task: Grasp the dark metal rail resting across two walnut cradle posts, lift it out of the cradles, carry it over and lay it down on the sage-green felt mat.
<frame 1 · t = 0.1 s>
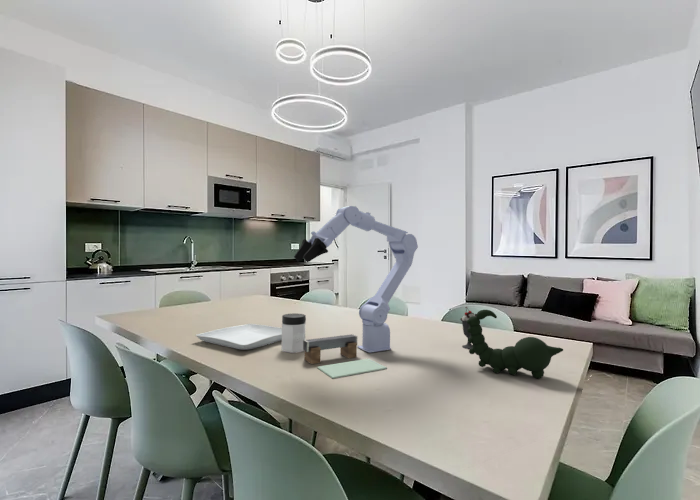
hand: (300, 259, 116), 32 cm above the table, tool tilted 50°, fingers open, 7 cm apart
rail: (330, 347, 118), point 3 cm above the table, touching post 1, post 2
square plate: (247, 342, 140), on the table
jar: (293, 350, 128), on the table
post 2: (348, 355, 122), on the table
toy figurine: (512, 374, 106), on the table
sundae: (469, 347, 134), on the table
post 1: (312, 361, 115), on the table
mat: (352, 368, 109), on the table
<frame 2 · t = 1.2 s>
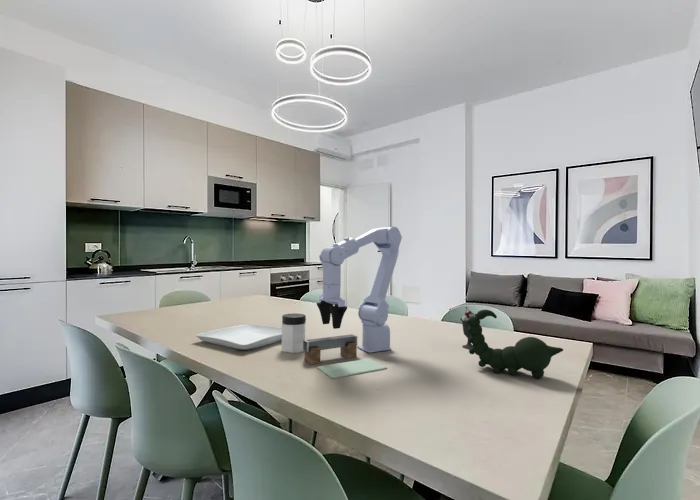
hand: (331, 326, 118), 10 cm above the table, tool pointing down, fingers open, 7 cm apart
nothing on the table moved.
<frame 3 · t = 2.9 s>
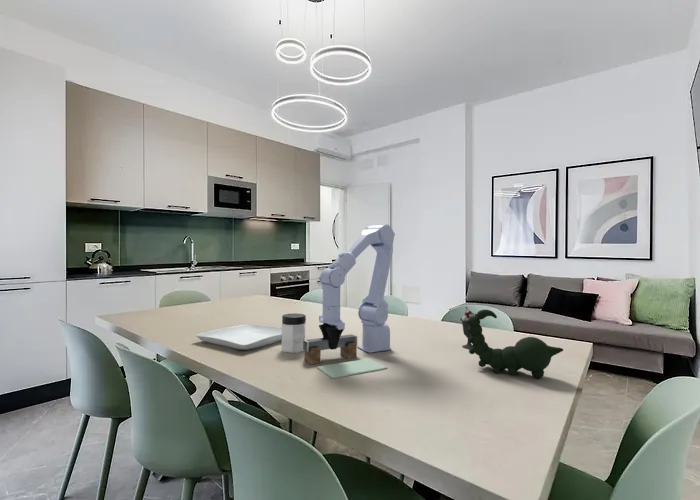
hand: (330, 347, 118), 3 cm above the table, tool pointing down, fingers closed on rail, 3 cm apart
rail: (330, 347, 118), point 3 cm above the table, touching gripper, post 1, post 2
everything else where it was.
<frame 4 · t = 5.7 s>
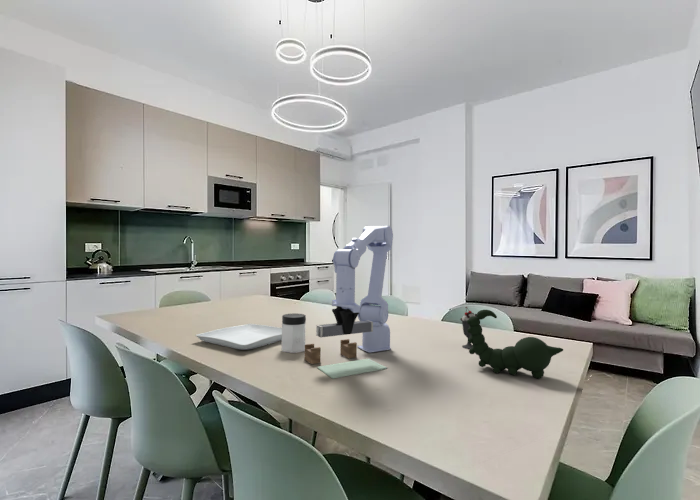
hand: (344, 332, 112), 10 cm above the table, tool pointing down, fingers closed on rail, 3 cm apart
rail: (345, 333, 112), point 10 cm above the table, touching gripper
everything else where it was.
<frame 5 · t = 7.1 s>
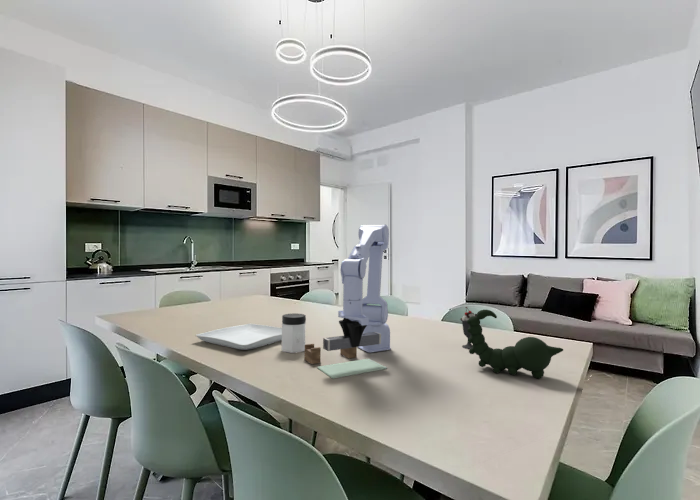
hand: (352, 345, 109), 7 cm above the table, tool pointing down, fingers closed on rail, 3 cm apart
rail: (352, 346, 109), point 7 cm above the table, touching gripper
everything else where it was.
when the fingers open (2 cm above the table, at t = 8.5 s): rail drops 1 cm, resting on mat.
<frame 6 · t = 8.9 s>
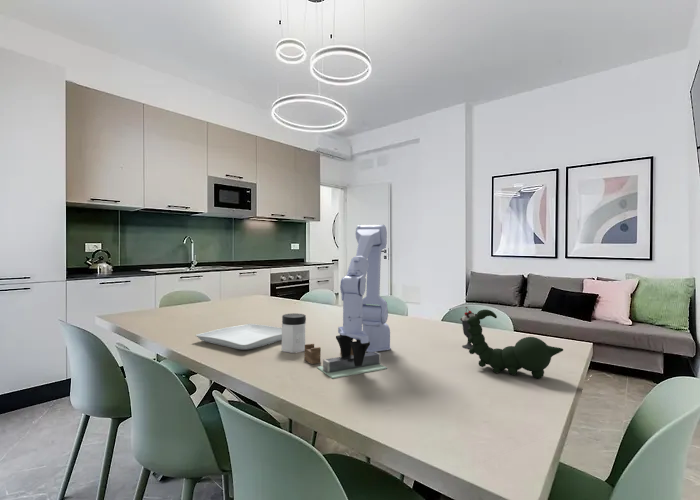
hand: (352, 362, 109), 2 cm above the table, tool pointing down, fingers open, 7 cm apart
rail: (352, 366, 109), resting on mat
everything else where it was.
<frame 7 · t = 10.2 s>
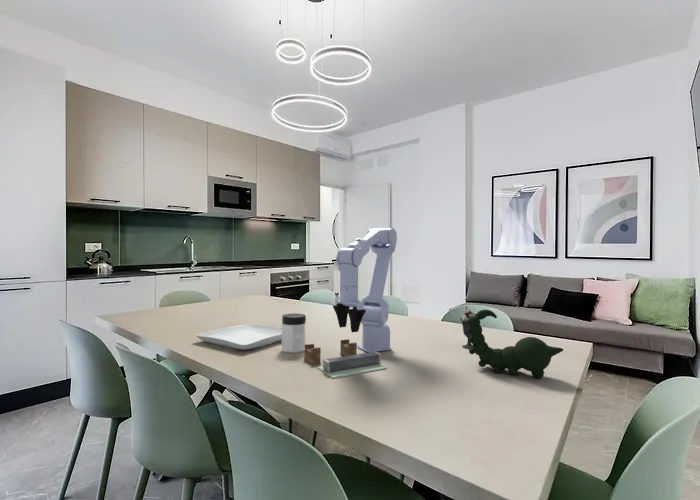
hand: (348, 329, 115), 10 cm above the table, tool pointing down, fingers open, 7 cm apart
nothing on the table moved.
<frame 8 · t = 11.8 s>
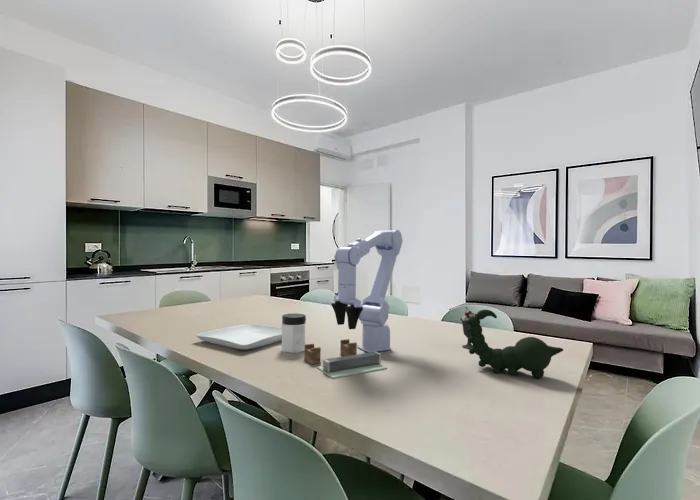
hand: (346, 326, 118), 10 cm above the table, tool pointing down, fingers open, 7 cm apart
nothing on the table moved.
at the end: rail inside the target area on the mat (0.2 cm from its centre), point 0.4 cm above the mat's base; the gripper is holding nothing; rail moved 12.5 cm from its start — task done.
